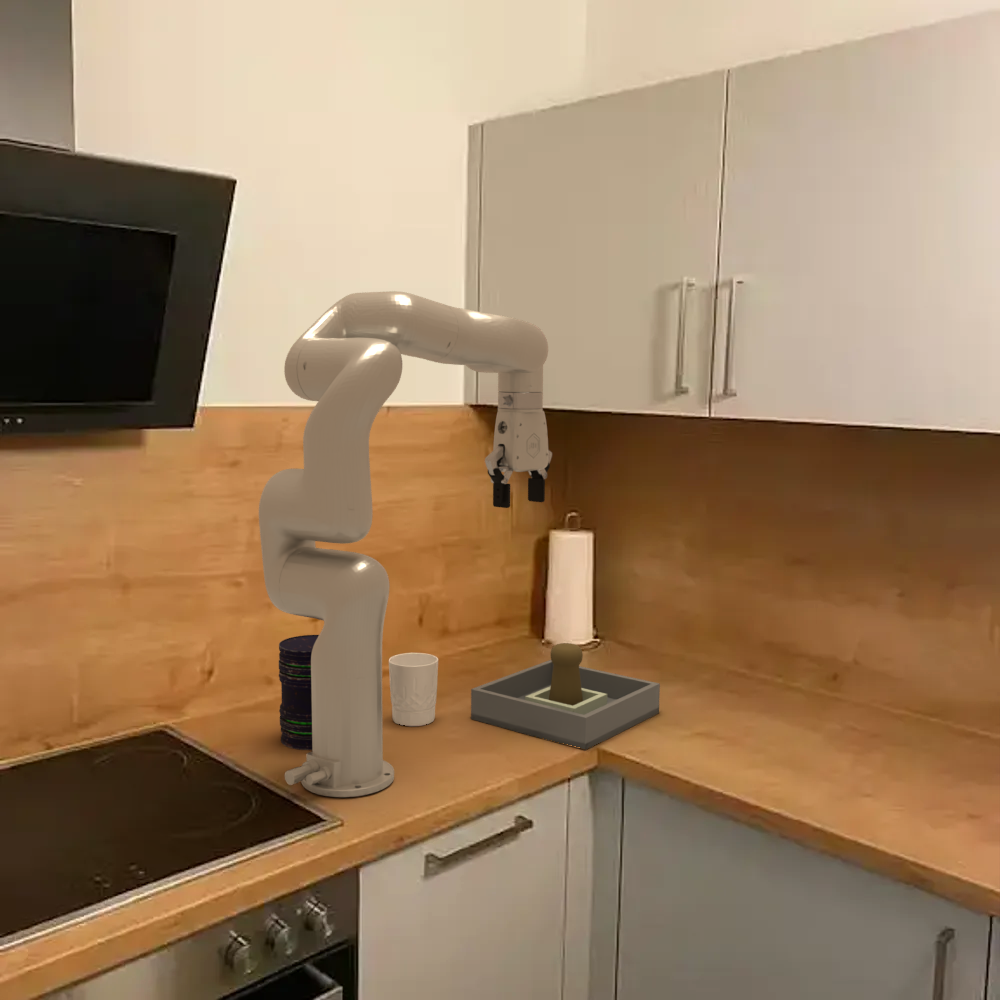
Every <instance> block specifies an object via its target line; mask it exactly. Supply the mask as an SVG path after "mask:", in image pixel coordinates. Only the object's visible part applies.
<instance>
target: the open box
mask: <svg viewBox="0 0 1000 1000" xmlns="http://www.w3.org/2000/svg"><path fill="white" fill-rule="evenodd" d="M553 667H554V664H553V663H552V661H551V659H548V660H547V661H544V662H541V663H539V664H536V665H533V666H530V667H528V668H524V669H522V670H519V671H516V672H515V673H511V674H508V675H505V676H502V677H501V678H497V679H495V680H492V681H489V682H487V683H484V684H481V685H478V686H476V687H473V688H471V689H470V704H471V705H470V719H471V720H474V721H476V722H479V723H484V724H488V725H491V726H495V727H499V728H503V729H505V730H510V731H513V732H518V733H521V734H524V735H527V736H531V737H534V736H536V737H535V738H538V737H539V739H542V738H544V739H543V740H545V739H547V740H546V741H549V740H552V741H555V742H554V743H556V742H559V743H558V744H560V743H564V744H568V745H572V746H576V747H580V748H582V749H585V750H584V751H587V750H589V749H590V748H589V747H591V748H593V747H594V745H595V746H597V745H599V744H601V743H603V742H605V741H607V740H608V739H611V738H613V737H615V736H617V735H618V734H621V733H622V732H625V731H626V730H628V729H630V728H632V727H634V726H636V725H638V724H640V723H642V722H644V721H646V720H648V719H651V718H653V717H654V716H656V715H658V714H659V713H660V694H661V693H660V691H661V690H660V689H661V688H660V687H661V684H660V683H659V682H653V681H649V680H645V679H641V678H636V677H633V676H631V677H630V676H628V675H627V676H626V675H623V674H622V675H621V674H617V673H613V672H608V671H603V670H598V669H595V668H590V667H586V666H585V667H584V666H581V665H579V671H580V680H581V689H582V698H583V701H582V702H580V703H578V704H576V705H573V706H572V705H567V704H563V703H559V702H555V701H551V700H549V694H550V687H551V680H552V673H553ZM552 741H551V742H552ZM602 741H603V742H602ZM600 742H601V743H600ZM598 743H599V744H598ZM596 744H597V745H596ZM592 746H593V747H592ZM588 748H589V749H588ZM582 749H581V750H582ZM586 749H587V750H586Z"/></svg>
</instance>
